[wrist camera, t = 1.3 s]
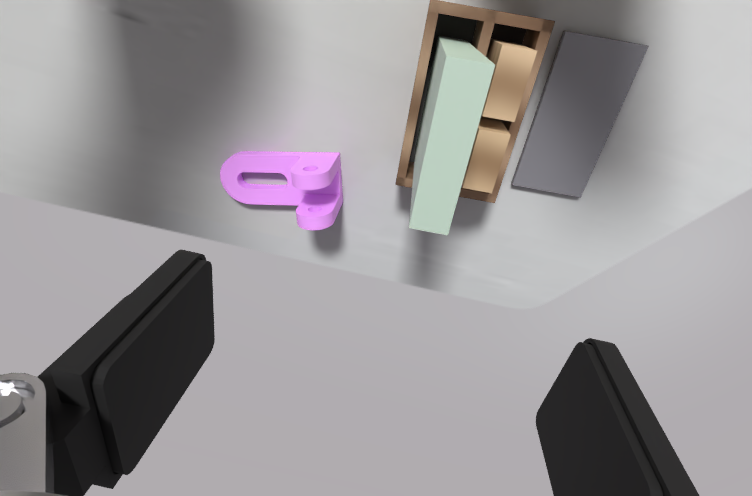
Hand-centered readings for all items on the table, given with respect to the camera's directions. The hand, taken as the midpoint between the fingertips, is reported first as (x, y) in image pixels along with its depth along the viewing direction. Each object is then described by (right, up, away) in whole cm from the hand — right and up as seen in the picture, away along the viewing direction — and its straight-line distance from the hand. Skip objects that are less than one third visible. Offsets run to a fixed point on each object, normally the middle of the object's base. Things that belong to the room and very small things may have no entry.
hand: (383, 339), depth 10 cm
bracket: (-10, +10, +34) cm, 37 cm away
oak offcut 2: (+10, +13, +30) cm, 34 cm away
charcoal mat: (+18, +14, +28) cm, 36 cm away
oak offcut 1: (+10, +18, +27) cm, 34 cm away
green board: (+6, +17, +28) cm, 33 cm away
